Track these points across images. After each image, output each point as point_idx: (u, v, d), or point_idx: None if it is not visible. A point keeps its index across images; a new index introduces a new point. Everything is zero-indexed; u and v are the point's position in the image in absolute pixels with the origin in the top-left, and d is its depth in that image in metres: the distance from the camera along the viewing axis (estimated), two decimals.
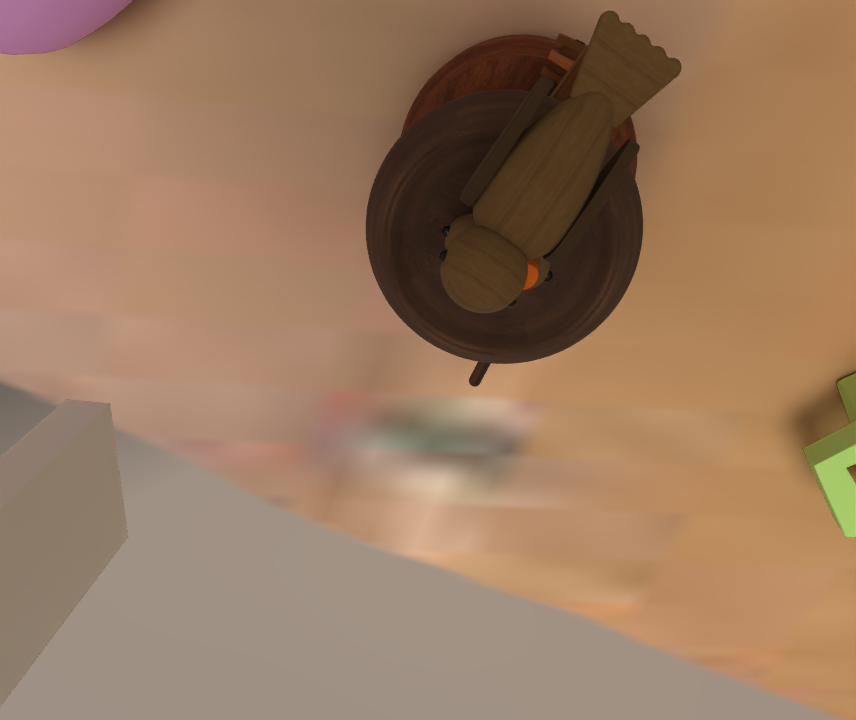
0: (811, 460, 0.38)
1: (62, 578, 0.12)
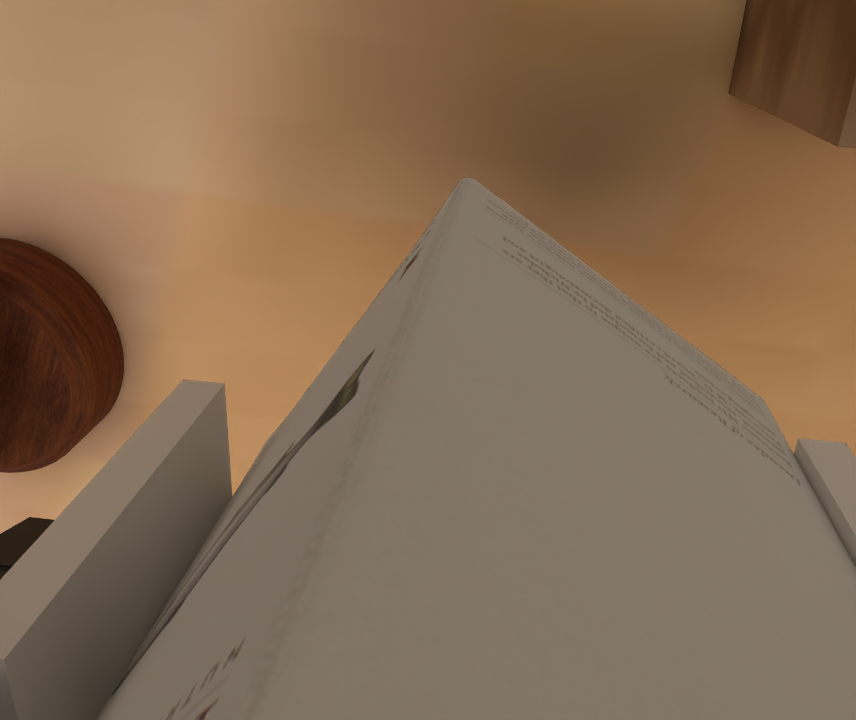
0: None
1: (188, 545, 0.13)
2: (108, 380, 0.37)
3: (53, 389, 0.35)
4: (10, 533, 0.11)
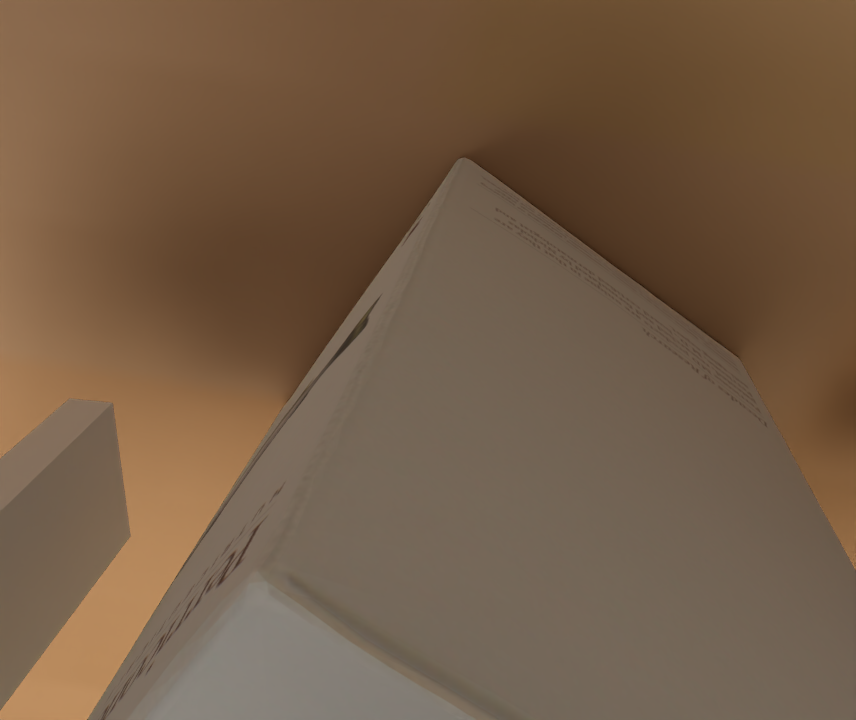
0: None
1: (65, 577, 0.12)
2: None
3: None
4: None
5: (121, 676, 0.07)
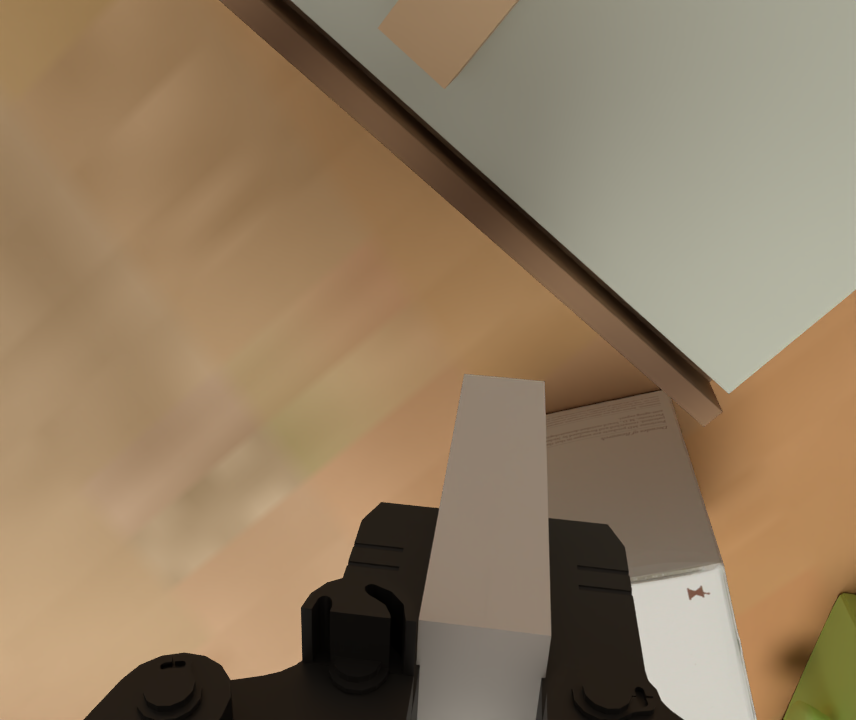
0: None
1: None
2: None
3: None
4: (373, 517, 0.12)
5: None
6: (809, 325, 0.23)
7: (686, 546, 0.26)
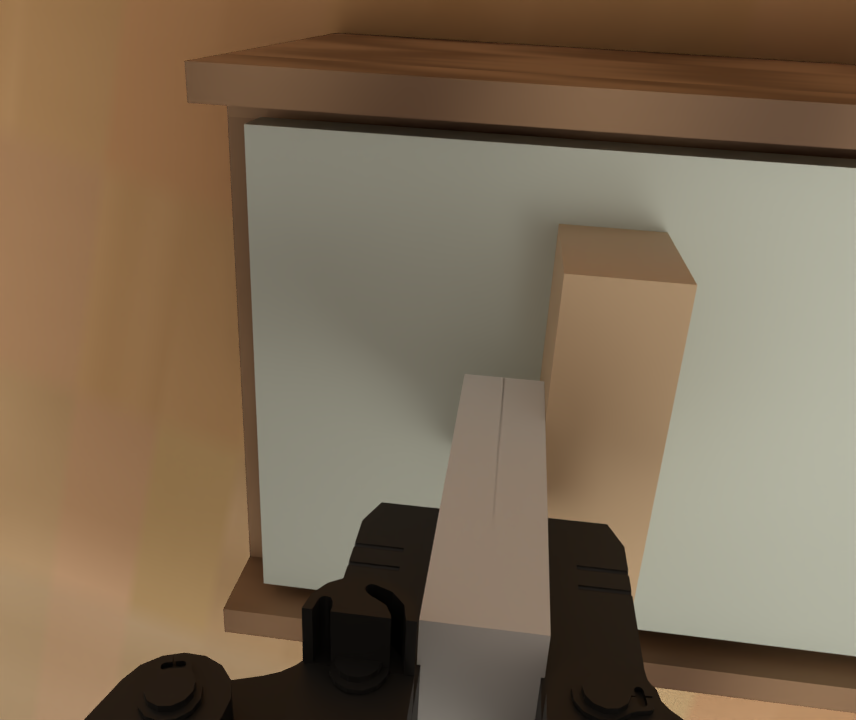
0: None
1: None
2: None
3: None
4: (373, 517, 0.12)
5: None
6: None
7: None
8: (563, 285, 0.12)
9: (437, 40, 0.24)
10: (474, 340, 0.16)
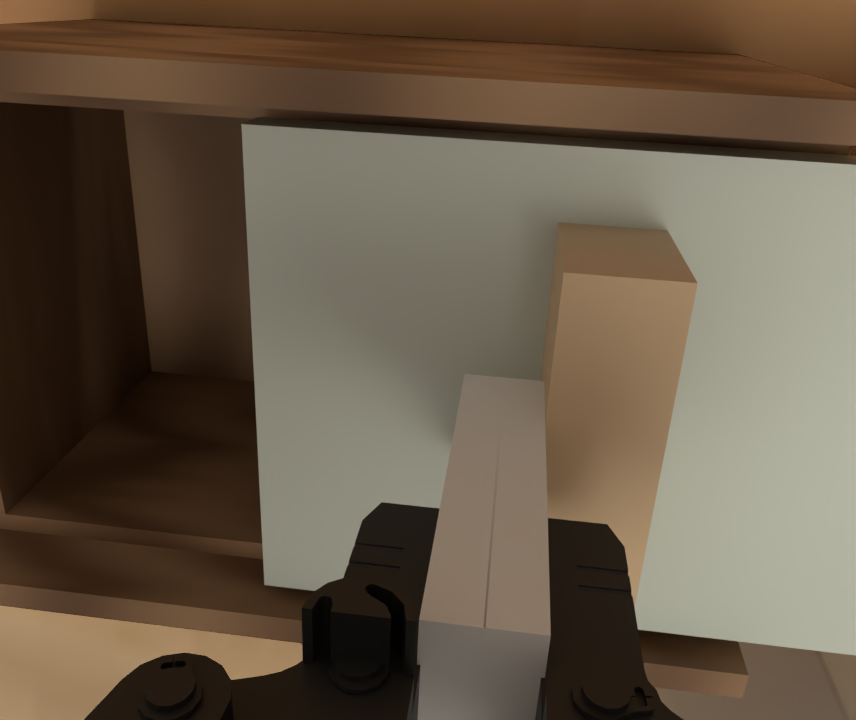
0: None
1: None
2: None
3: None
4: (373, 517, 0.12)
5: None
6: None
7: None
8: (562, 284, 0.12)
9: (181, 25, 0.25)
10: (474, 340, 0.16)
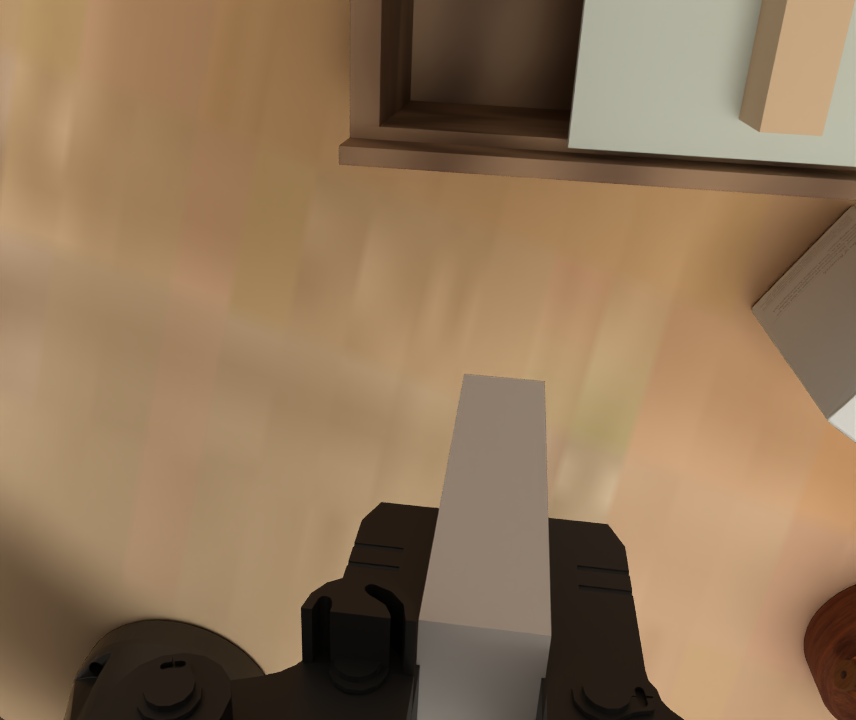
0: None
1: None
2: None
3: None
4: (373, 517, 0.12)
5: None
6: None
7: None
8: None
9: None
10: None
